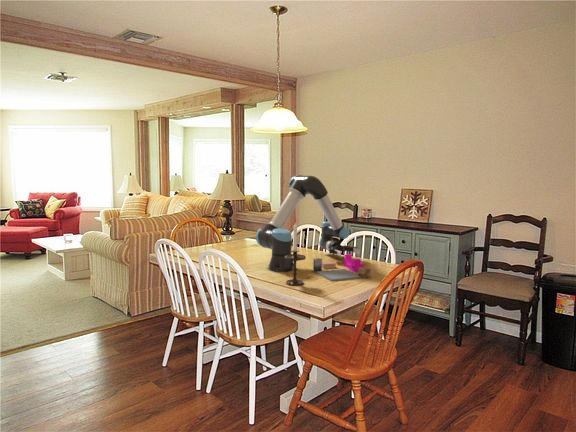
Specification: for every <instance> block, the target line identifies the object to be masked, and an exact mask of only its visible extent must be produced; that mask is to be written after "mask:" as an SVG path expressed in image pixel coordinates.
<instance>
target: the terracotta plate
mask: <svg viewBox="0 0 576 432" xmlns="http://www.w3.org/2000/svg"><path fill="white" fill-rule="evenodd" d="M336 265H337V263H336V262H334V261H326V262H325V261H324V262H323V261H322V269H325V270H326V269H335V268H337V267H336Z"/></svg>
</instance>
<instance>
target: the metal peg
mask: <svg viewBox="0 0 576 432" xmlns="http://www.w3.org/2000/svg"><path fill="white" fill-rule="evenodd" d="M312 261H313V262H312V264H313V265H312V266H313V267H312V268H313V269H312V271H313V272H315V273H317V272H318V271H323V270H322V269H323V268H322V262H323V258H319V257H318V258H313V260H312Z"/></svg>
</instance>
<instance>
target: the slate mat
mask: <svg viewBox="0 0 576 432" xmlns="http://www.w3.org/2000/svg"><path fill="white" fill-rule="evenodd" d="M316 274H317V275H319V276H321V277H322V278H325V279H326V280H328V281H330V282H336V281H347V280H356V279H362V278H361V276H359V275H358V274H357V273H355V272H353V271H352V272H351V270H349V269H345V268H342V269H341V268H340V269H331V270H322V271H318V272H316Z"/></svg>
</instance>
